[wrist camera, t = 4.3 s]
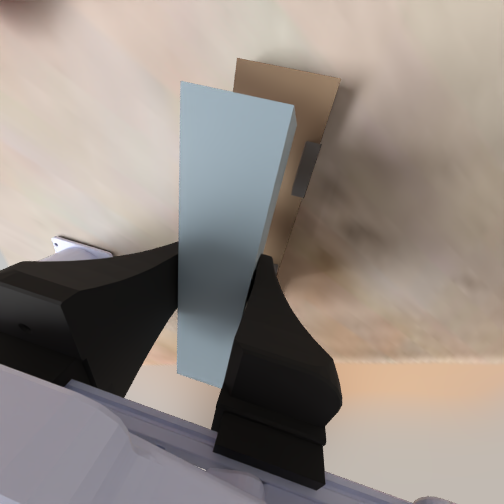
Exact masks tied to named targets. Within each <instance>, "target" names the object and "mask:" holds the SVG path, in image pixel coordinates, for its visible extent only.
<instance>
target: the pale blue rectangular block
mask: <svg viewBox="0 0 504 504" xmlns="http://www.w3.org/2000/svg"><path fill="white" fill-rule="evenodd" d="M296 127H297V122H296V115H295V108H294V105H291V104H286V103H281V102H277V101H272V100H267V99H263V98H258V97H253V96H249V95H244V94H239V93H235V92H230V91H225V90H221V89H216V88H211V87H207V86H202V85H198V84H193V83H188V82H184V81H181V91H180V172H179V252H178V332H177V373H178V374H180V375H183V376H186V377H189V378H192V379H195V380H198V381H200V382H204V383H207V384H209V385H212V386H215V387H218V388H221V389H222V385H223V382H224V378H225V374H226V370H227V366H228V362H229V357H230V353H231V349H232V345H233V341H234V337H235V335H236V332H237V330H238V327H239V324H240V322H241V319H242V317H243V314H244V311H245V309H246V306H247V303H248V298H249V294H250V291H251V287H252V283H253V279H254V275H255V271H256V267H257V263H258V260H259V257H260V255H261V254H263V252H264V248H265V244H266V240H267V236H268V233H269V229H270V225H271V221H272V218H273V214H274V210H275V206H276V202H277V199H278V195H279V191H280V187H281V183H282V180H283V176H284V172H285V168H286V165H287V161H288V157H289V153H290V149H291V146H292V142H293V138H294V134H295V130H296Z"/></svg>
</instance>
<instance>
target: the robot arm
mask: <svg viewBox="0 0 504 504" xmlns="http://www.w3.org/2000/svg"><path fill="white" fill-rule="evenodd" d="M52 242H53V245H54V248H55V251H56V253H55V254H52V255H50V256H48V257H46V258H44V259H41V260H39V261H23V262H19V263H17V264H15V265H12V266H10V267H7V268H5V269H3V270H0V504H456V503H453V502H450V501H447V500H444V499H441V498H437V497H429V496H427V497H421V498H419V499H417V500H415V501H414V503H411V502H408V501H406V500H403V499H400V498H397V497H395V496H392V495H389V494H386V493H384V492H381V491H378V490H375V489H373V488H370V487H367V486H364V485H362V484H359V483H356V482H353V481H350V480H348V479H345V478H342V477H340V476H337V475H334V474H331V473H329V472H326V471H325V470H324V457H323V446H324V445H325V444H326V433H325V426H326V425H327V423H328V422H329V421H330V420H331V419H332V418H333V417H334V416H335V415H336V413H338V411H339V410H340V408H341V406H342V393H341V388H340V382H339V379H338V375H337V371H336V368H335V364H334V361H333V359H332V358H331V357H330V356H329V354H328V353H327V352H326V351H325V350H324V349H323V348H322V347H321V346H320V345H319V344H318V343H317V342H316V341H315V340H314V339H313V338H312V336H311V335H310V334H309V333H308V331H307V330H306V329H305V328H304V327H303V325H302V324H301V323H300V321H299V320H298V318H297V317H296V315H295V314H294V312H293V311H292V309H291V308H290V306H289V304H288V302H287V300H286V298H285V296H284V294H283V292H282V290H281V287H280V285H279V282H278V279H277V276H276V273H275V269H274V264H273V258H272V256H268V255H265V254H261V255H260V257H259V260H258V263H257V267H256V271H255V275H254V279H253V283H252V287H251V291H250V294H249V298H248V303H247V306H246V309H245V311H244V314H243V317H242V319H241V322H240V324H239V327H238V330H237V332H236V335H235V337H234V341H233V345H232V349H231V353H230V357H229V362H228V366H227V370H226V374H225V378H224V382H223V385H222V389H221V392H220V395H219V398H218V401H217V404H216V410H215V415H214V419H213V423H212V428H211V430H210V429H208V428H205V427H202V426H199V425H197V424H194V423H191V422H188V421H186V420H183V419H180V418H177V417H175V416H172V415H169V414H166V413H164V412H161V411H158V410H155V409H153V408H150V407H147V406H144V405H142V404H139V403H136V402H133V401H131V400H128V399H125V398H124V397H125V395H126V393H127V392H128V390H129V388H130V386H131V384H132V382H133V380H134V378H135V376H136V375H137V373H138V371H139V369H140V367H141V366H142V364H143V362H144V360H145V358H146V357H147V355H148V353H149V351H150V350H151V348H152V346H153V345H154V343H155V341H156V340H157V338H158V336H159V334H160V333H161V331H162V330H163V328H164V326H165V325H166V323H167V322H168V320H169V318H170V317H171V316H172V314H173V313H174V311H175V310H176V309H177V308H178V252H179V241H178V242H175V243H172V244H169V245H166V246H162V247H159V248H155V249H152V250H148V251H144V252H139V253H134V254H129V255H123V256H116V257H113V255H112V254H111V253H110V252H107V251H104V250H101V249H97V248H94V247H91V246H87V245H84V244H81V243H77V242H74V241H71V240H67V239H64V238H61V237H57V236H55V237H52ZM194 465H195V466H194ZM196 466H197V467H196ZM198 467H200V468H203V469H205V470H206V471H204V470H202V469H200V468H198Z"/></svg>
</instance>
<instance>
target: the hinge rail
mask: <svg viewBox="0 0 504 504" xmlns="http://www.w3.org/2000/svg"><path fill="white" fill-rule="evenodd" d="M340 81H341V79H340V78H335V77H330V76H325V75H320V74H315V73H310V72H305V71H300V70H295V69H290V68H285V67H280V66H275V65H270V64H265V63H260V62H255V61H250V60H245V59H240V58H237V63H236V72H235V80H234V88H233V92H235V93H239V94H244V95H249V96H253V97H258V98H263V99H267V100H272V101H277V102H281V103H286V104H291V105H294V108H295V115H296V122H297V127H296V130H295V134H294V138H293V142H292V146H291V149H290V153H289V157H288V161H287V165H286V168H285V172H284V176H283V180H282V183H281V187H280V191H279V195H278V199H277V202H276V206H275V210H274V214H273V218H272V221H271V225H270V229H269V233H268V236H267V240H266V244H265V248H264V252H263V254H265V255H268V256H272V258H273V264H274V269H275V273H276V276H277V273H278V270H279V267H280V264H281V261H282V258H283V255H284V252H285V249H286V246H287V243H288V240H289V237H290V234H291V231H292V227H293V224H294V221H295V218H296V215H297V212H298V209H299V206H300V203H301V200H302V198H304V196H305V193H306V190H307V187H308V184H309V181H310V178H311V175H312V172H313V169H314V166H315V163H316V160H317V157H318V154H319V151H320V148H321V145H322V144H320V142H321V139H322V136H323V133H324V130H325V126H326V123H327V120H328V117H329V114H330V111H331V108H332V105H333V102H334V99H335V96H336V93H337V90H338V87H339V84H340Z"/></svg>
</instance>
